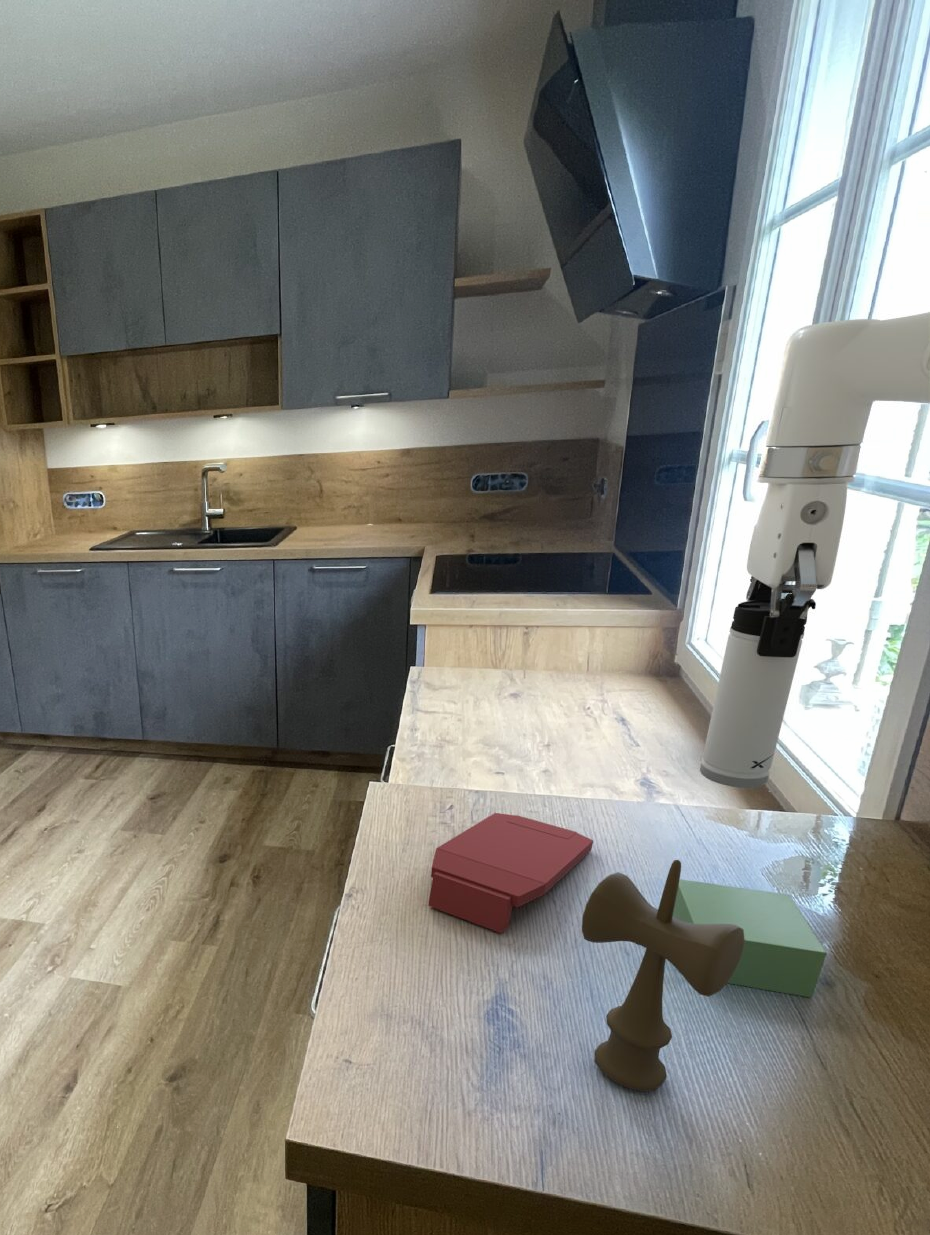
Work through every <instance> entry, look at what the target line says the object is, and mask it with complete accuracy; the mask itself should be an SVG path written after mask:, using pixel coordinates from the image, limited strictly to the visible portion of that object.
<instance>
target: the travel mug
mask: <svg viewBox="0 0 930 1235" xmlns="http://www.w3.org/2000/svg"><path fill="white" fill-rule="evenodd" d="M783 599H784V598H781V602H782V601H783ZM770 604H771V599H761V600H752V601H747V600H746V601H743V602H740V603H738V604H737V606H735V608H734V611H733V617H732V619H733V620H732V621H731V626H730V627H729V634H728V636H727V641H726V646H725V649H724V656H723V660H722V663H721V664H722V665H721V668H720V675H719V678H718V683H717V689H716V692H715V698H714V702H713V707H712V711H711V716H710V721H709V725H708V730H707V735H706V740H705V744H704V748H703V754H702V759H701V763H700V767H699V772H700V774H701V775H702V776H703V777H704V778H706V779H707V780H709V781H711V782H713V783H716V784H720V785H723V786H726V787H733V788H741V789H742V788H743V789H753V788H759V787H762V786H764V785H766V784H767V783H768V780H769V777H770V773H771V768H772V765H773V760H774V756H775V752H776V748H777V745H778V740H779V736H780V732H781V728H782V725H783V720H784V717H785V712H786V708H787V705H788V700H789V695H790V692H791V688H792V684H793V680H794V676H795V672H796V668H797V664H798V660H799V656H800V653H801V648H802V644H803V640H802V639H804V637H805V630H806V626H805V625H807V622H808V613H809V611H808V612H807V616H806V618H805V621H804V625H803V629H802V633H801V637H800V641H799V645H798V649H797V653H796V655H795V656H794V657H792V658H789V657H766V656H759V655H758V654H757V648H758V643H759V639H760V634H761V630H762V626H763V621H764V617H765V616H770ZM816 607H817V602H816V601H815V600H814V599H813V598H811V603H810V604H808V610H809V609H810V608H811V609H812V610H815V609H816Z"/></svg>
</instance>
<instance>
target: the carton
mask: <svg viewBox="0 0 930 1235" xmlns="http://www.w3.org/2000/svg"><path fill="white" fill-rule="evenodd" d="M593 844H594V840H593V839H591V838H589V837H587V836H585V835H583V834H581V833H578V832H577V831H575V830H572V829H569V828H568V829H567V828H564V827H560V826H557V825H553V824H549V823H546V822H542V821H539V820H535V819H532V818H528V817H524V816H521V815H517V814H516V815H515V814H506V813H500V812H494V813H492V814H490V815H489V816H487V817H486V818H484V819H482V820H480V821H479V822H477V823H476V824H474V825H472V826H470V827H469V828H468V829H466V830H464V831H462V832H461V833H458V834H457V835H456V836H454V837H453V838H451V839H449V840H447V841H446V842H445V843H443V844H441V845H439V846H437V847H436V848H435V851H434V856H433V859H432V864H431V870H430V878H432V881H431V886H430V893H429V899H428V905H427V906H428V907H430V908H433V909H436V910H439V911H441V912H444V913H446V914H449V915H451V916H455V917H456V918H460V919H463V920H465V921H467V922H470V923H473V924H476V925H477V926H480V927H483V928H487V929H489V930H491V931H494V932H497V933H500V934H503V933H504V932H505V931H506V930H508V928H509V926H510V921H511V917H512V912H513V907H514V908H519V907H521V906H523V905H525V904H528V903H529V902H531V901H534V900H536V899H537V898H540V897H542V896H544V895H545V894H546V893H547V892H548V891H549V890H551V888H553V887H554V886H555V885H556V884H557V883H559V881H561V879H563V877H565V875H567V874H568V873H569V872H570V871H571V870H572V869H573V868H574V867H575V866H576V865H578V863H580V862H581V861H582V859H584V858H585V857H586V856H587V855H588V854H589V853H590V852H592V849H593Z"/></svg>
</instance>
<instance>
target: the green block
mask: <svg viewBox="0 0 930 1235" xmlns="http://www.w3.org/2000/svg"><path fill="white" fill-rule="evenodd" d="M673 917H674V918H676V919H679V920H681V921H685V922H688V923H692V924H733V925H737V926H739V927H740V928H742V929H743V931H744V940H745V942H744V947H743V952H742V955H741V957H740V960H739V963H738V965H737V967H736V969H735V971H734V973H733V975H732V976H731V978H730V979H729V980H728V982H727V983H726V984H729V985H730V984H731V985H736V986H741V987H747V988H752V989H753V988H754V989H760V990H765V991H771V992H777V993H783V994H788V995H794V996H800V997H805V998H813V996H814V993H815V989H816V987H817V983H818V981H819V977H820V974H821V971H822V968H823V965H824V962H825V959H826V956H827V951H826V950H825V948H824V946H823V945H822V944H821V942H820V940H819V938H818V937H817V936H816V934H815V932H814V931H813V929H812V927H811V926H810V924H809V923H808V921H807V920H806V917H805V916H804V915H803V913H802V911H801V910H800V908H799V907H798V905H797V903H796V902H795V901H794V898H793V897H792V896H791V894H789V893H788V894H787V893H781V892H774V891H768V890H760V889H754V888H747V887H738V886H731V885H724V884H716V883H709V882H704V881H703V882H702V881H695V880H689V879H681V878H680V880H679V885H678V891H677V896H676V901H675V907H674V912H673Z"/></svg>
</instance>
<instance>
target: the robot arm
mask: <svg viewBox="0 0 930 1235" xmlns="http://www.w3.org/2000/svg"><path fill="white" fill-rule="evenodd" d="M777 379H778V380H777V384H776V389H775V393H774V399H773V403H772V408H771V412H770V417H769V422H768V426H767V431H766V435H765V440H764V444H763V445H764V446H763V450H762V453H761V454H762V455H761V459H760V464H759V468H758V474H757V478H756V482H757V483H761V484H765V487H764V491H763V493H762V497H761V500H760V505H759V508H758V512H757V516H756V520H755V522H754V523H755V524H754V527H753V532H752V535H751V539H750V545H749V549H748V553H747V554H748V556H747V560H746V561H747V562H746V571H747V573H748V574H749V575H750V579H749V581H750V584H749V587H748V589H747V592H746V596H745V599H746V601H752V600H761V599H771V604H770V616H765V617H764V621H763V626H762V630H761V634H760V639H759V643H758V648H757V654H758V655H759V656H766V657H789V658H792V657H794V656H795V655H796V653H797V649H798V645H799V641H800V637H801V633H802V629H803V625H804V621H805V618H806V616H807V617H808V614H807V612H808V613H809V609H808V604H810V603H811V599H812V597H813V595H815V593H816V591H817V590H824V589H826V588H828V587H829V586H830V585H831V583H832V579H833V577H834V576H833V575H834V571H835V566H836V562H837V556H838V552H839V547H840V542H841V538H842V532H843V526H844V521H845V520H844V519H845V514H846V506H847V497H848V483H853V482H854V481H855V478H856V474H857V473H856V472H857V470H858V466H859V462H860V459H861V454H862V451H863V446H864V443H865V439H866V435H867V430H868V427H869V423H870V419H871V415H872V411H873V409H874V408H873V407H874V404H875V402H896V403H901V404H904V405H905V404H906V405H907V404H908V405H930V311H929V312H923V313H919V314H913V315H908V316H907V315H906V316H902V317H895V318H890V319H889V318H888V319H882V320H881V319H874V318H859V319H844V320H834V321H827V322H820V323H814V324H809V325H805V326H802V327H800V328H798V329H797V330H796V331H794V332H793V333H792V334H791V336H790V337H789V338H788V340H787V342H786V344H785V348H784V352H783V356H782V361H781V364H780V371H779V374H778V378H777ZM787 582H794V584H787ZM783 594H786V595H785V596H784V597H783V598H782V595H783ZM781 599H783V601H782V602H781ZM804 626H805V625H804Z"/></svg>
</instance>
